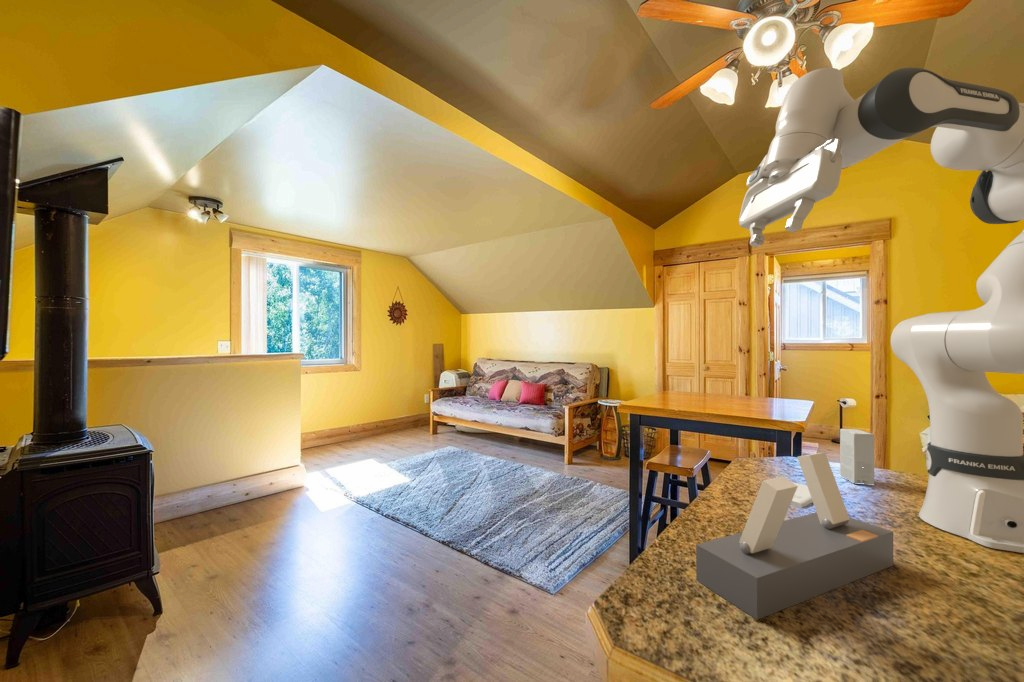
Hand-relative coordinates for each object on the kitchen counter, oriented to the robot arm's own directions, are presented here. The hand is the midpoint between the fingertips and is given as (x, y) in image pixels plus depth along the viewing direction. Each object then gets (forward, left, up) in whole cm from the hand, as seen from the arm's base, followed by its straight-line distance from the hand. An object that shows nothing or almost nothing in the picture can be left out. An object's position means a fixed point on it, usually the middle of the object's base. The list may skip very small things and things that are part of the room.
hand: (773, 238), depth 72 cm
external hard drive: (-2, -24, -52) cm, 57 cm away
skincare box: (-14, -44, -52) cm, 69 cm away
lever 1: (+1, +20, -46) cm, 50 cm away
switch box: (-4, +12, -51) cm, 53 cm away
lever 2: (-8, +4, -46) cm, 46 cm away
